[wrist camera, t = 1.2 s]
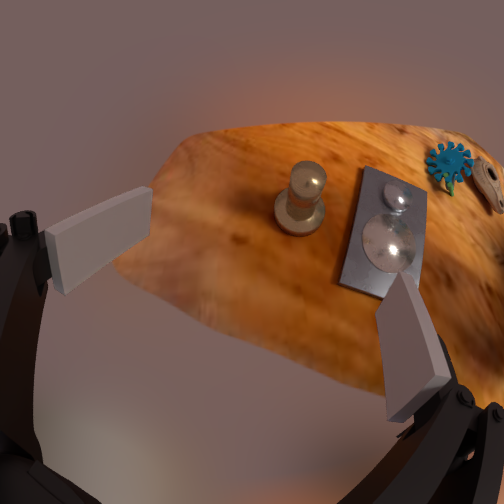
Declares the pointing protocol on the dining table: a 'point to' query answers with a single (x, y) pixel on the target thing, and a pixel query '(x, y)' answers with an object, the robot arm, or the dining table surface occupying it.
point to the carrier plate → (384, 234)
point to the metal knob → (301, 200)
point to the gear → (450, 164)
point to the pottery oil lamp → (488, 183)
